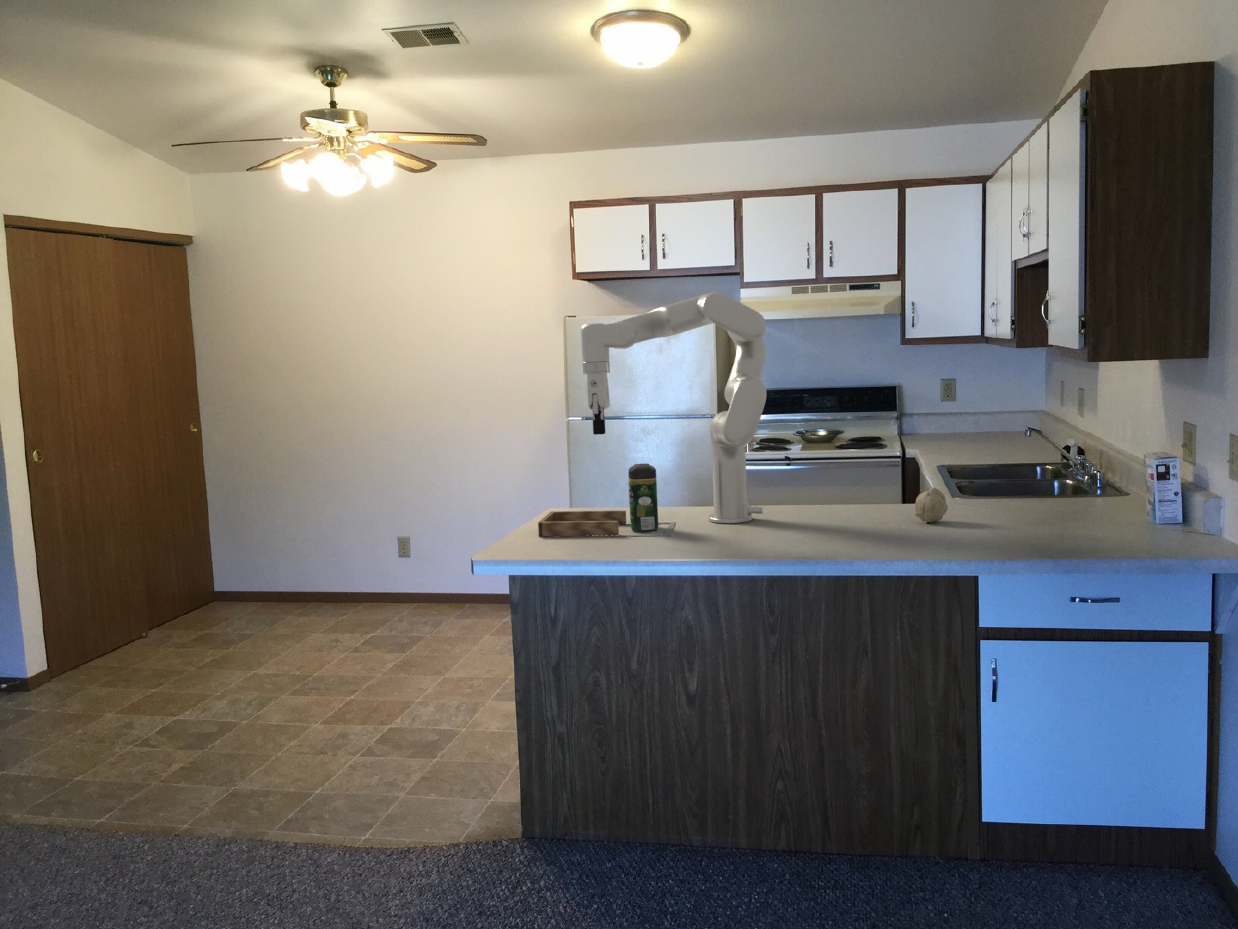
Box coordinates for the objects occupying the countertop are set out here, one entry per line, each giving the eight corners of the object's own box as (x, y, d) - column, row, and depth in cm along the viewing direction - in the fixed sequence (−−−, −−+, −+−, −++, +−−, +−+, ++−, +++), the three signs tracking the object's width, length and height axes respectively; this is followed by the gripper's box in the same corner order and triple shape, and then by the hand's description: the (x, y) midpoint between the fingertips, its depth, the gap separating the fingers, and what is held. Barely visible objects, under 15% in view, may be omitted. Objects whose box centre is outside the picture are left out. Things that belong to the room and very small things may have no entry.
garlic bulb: (945, 519, 270) (945, 484, 269) (952, 525, 262) (952, 489, 261) (910, 520, 271) (910, 485, 270) (916, 526, 263) (916, 489, 262)
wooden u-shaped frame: (626, 524, 282) (625, 510, 282) (618, 536, 265) (617, 521, 264) (551, 524, 285) (550, 511, 285) (538, 536, 268) (538, 522, 268)
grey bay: (675, 522, 281) (675, 522, 281) (670, 536, 262) (670, 535, 262) (626, 523, 283) (626, 522, 283) (617, 536, 264) (617, 535, 264)
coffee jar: (629, 526, 278) (627, 462, 275) (657, 525, 278) (655, 461, 275) (630, 533, 268) (628, 466, 266) (659, 532, 268) (657, 465, 266)
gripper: (605, 368, 262) (609, 436, 264) (613, 366, 276) (616, 431, 279) (578, 369, 263) (581, 437, 265) (587, 368, 277) (590, 431, 280)
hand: (599, 433), depth 272 cm, fingers closed
